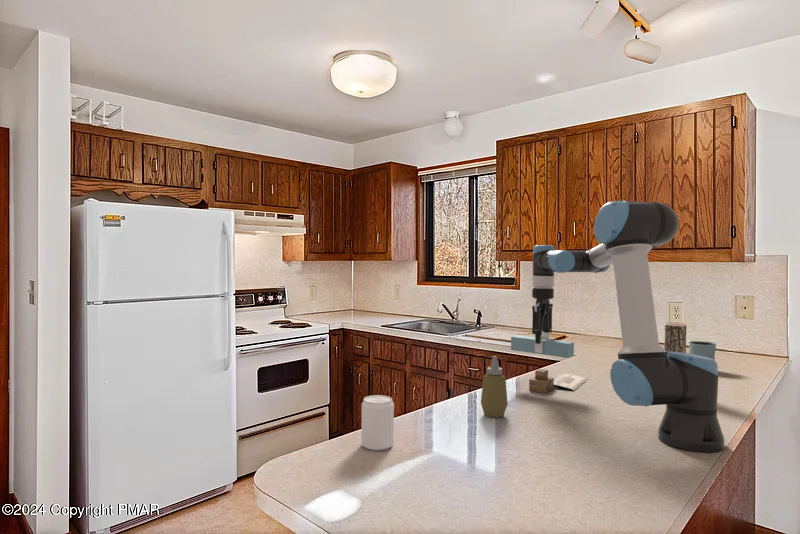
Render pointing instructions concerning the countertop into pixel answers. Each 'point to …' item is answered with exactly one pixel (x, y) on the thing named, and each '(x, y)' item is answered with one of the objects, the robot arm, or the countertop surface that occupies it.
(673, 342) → the bark covered log
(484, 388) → the squeeze bottle
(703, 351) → the grey green cup
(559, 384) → the newspaper
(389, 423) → the beverage can
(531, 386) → the fulcrum
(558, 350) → the bar
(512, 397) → the countertop surface
